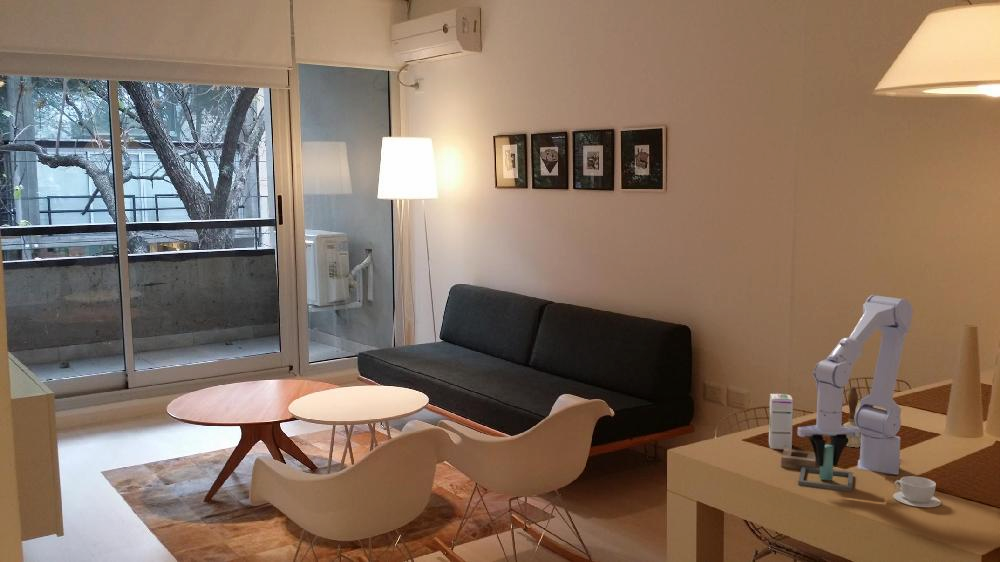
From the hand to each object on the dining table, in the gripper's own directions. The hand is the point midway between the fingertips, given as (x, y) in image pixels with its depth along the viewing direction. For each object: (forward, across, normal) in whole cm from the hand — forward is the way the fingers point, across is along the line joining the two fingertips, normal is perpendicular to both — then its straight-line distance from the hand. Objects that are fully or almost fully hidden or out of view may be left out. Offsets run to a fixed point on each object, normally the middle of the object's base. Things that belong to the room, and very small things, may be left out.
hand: (826, 464), depth 216 cm
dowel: (+3, 0, 0) cm, 3 cm away
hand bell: (+5, -20, -30) cm, 37 cm away
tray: (+4, 0, 0) cm, 4 cm away
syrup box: (+5, +1, -27) cm, 28 cm away
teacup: (+5, -16, +13) cm, 21 cm away
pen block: (+4, +2, -12) cm, 13 cm away
